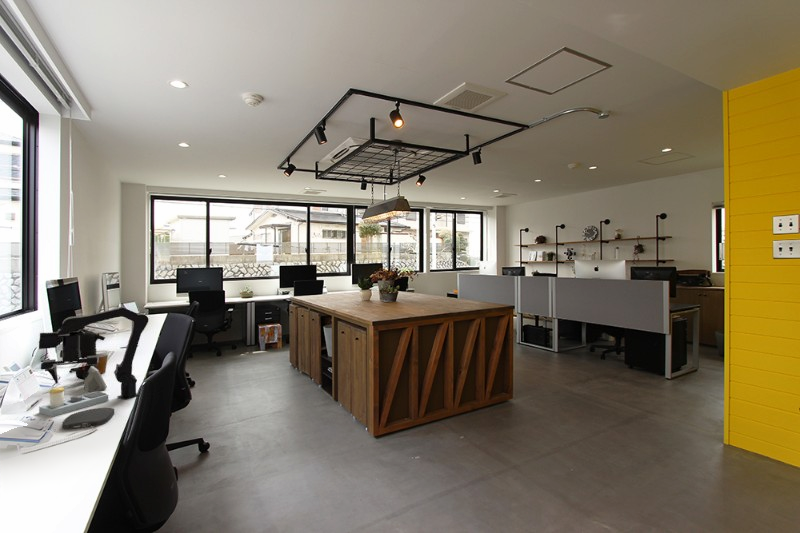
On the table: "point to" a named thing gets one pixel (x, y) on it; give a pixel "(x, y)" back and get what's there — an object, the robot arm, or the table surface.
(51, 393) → the cartridge
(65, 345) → the robot arm
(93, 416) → the media streaming box
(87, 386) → the grey triangular stone
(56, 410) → the housing
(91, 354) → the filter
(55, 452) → the table surface
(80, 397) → the plunger
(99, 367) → the disposable coffee cup
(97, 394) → the pad
